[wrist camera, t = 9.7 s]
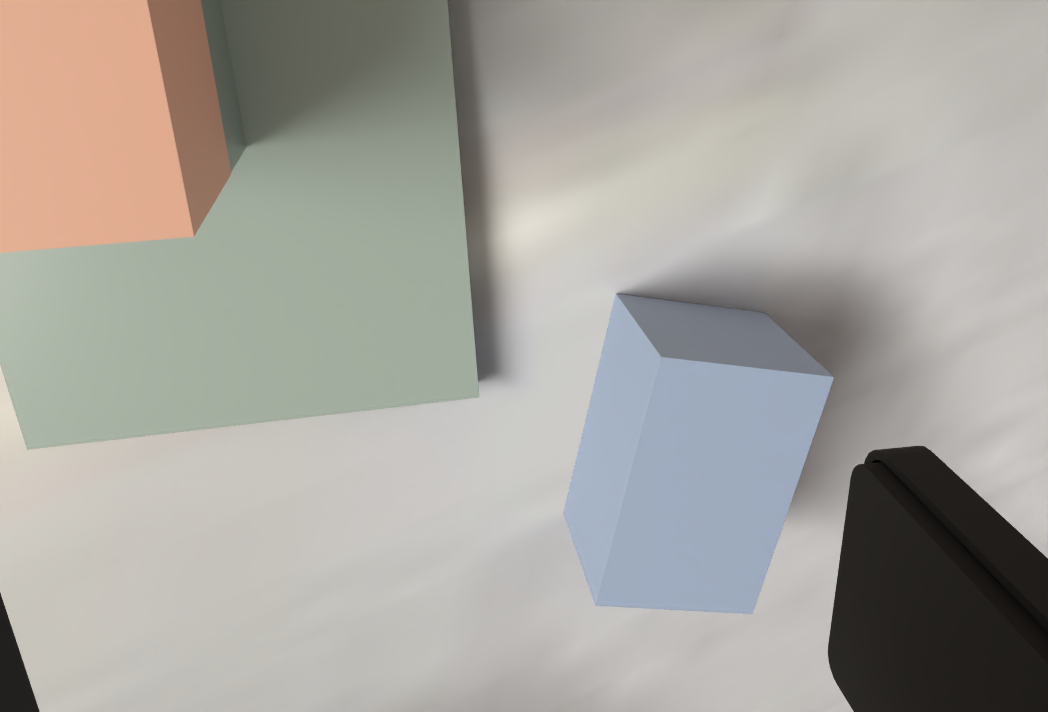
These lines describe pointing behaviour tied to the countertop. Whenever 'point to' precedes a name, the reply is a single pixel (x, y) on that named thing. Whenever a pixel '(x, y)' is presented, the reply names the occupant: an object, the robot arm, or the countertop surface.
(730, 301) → the countertop surface
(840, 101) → the countertop surface
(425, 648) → the countertop surface
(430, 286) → the build plate
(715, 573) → the slate brick
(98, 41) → the terracotta brick
